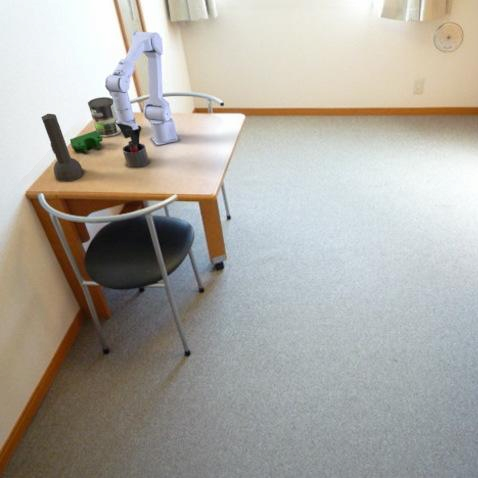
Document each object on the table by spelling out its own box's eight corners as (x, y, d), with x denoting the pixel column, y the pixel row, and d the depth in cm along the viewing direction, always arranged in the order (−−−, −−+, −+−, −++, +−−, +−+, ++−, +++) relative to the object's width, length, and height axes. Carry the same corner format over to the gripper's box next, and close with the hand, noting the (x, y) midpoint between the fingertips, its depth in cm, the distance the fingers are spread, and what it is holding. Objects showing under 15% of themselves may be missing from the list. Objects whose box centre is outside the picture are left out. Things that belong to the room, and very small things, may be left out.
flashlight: (83, 166, 193) (56, 171, 191) (63, 106, 178) (33, 110, 175) (83, 178, 186) (55, 183, 183) (62, 116, 171) (31, 121, 168)
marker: (140, 158, 197) (135, 139, 192) (142, 162, 195) (137, 142, 190) (132, 160, 196) (127, 141, 191) (134, 163, 194) (129, 144, 189)
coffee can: (110, 138, 213) (101, 107, 204) (91, 134, 216) (82, 104, 207) (126, 129, 220) (118, 99, 212) (108, 125, 224) (99, 95, 215)
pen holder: (145, 155, 201) (141, 141, 197) (151, 164, 195) (147, 149, 191) (124, 160, 197) (120, 146, 193) (129, 169, 191) (125, 154, 187)
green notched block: (86, 162, 205) (74, 149, 197) (78, 155, 207) (66, 142, 199) (108, 144, 208) (98, 131, 200) (101, 137, 210) (90, 123, 202)
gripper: (104, 104, 184) (114, 137, 192) (121, 116, 176) (130, 150, 184) (122, 99, 188) (131, 132, 196) (139, 111, 179) (147, 144, 188)
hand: (132, 140), depth 190 cm, fingers open, 7 cm apart
